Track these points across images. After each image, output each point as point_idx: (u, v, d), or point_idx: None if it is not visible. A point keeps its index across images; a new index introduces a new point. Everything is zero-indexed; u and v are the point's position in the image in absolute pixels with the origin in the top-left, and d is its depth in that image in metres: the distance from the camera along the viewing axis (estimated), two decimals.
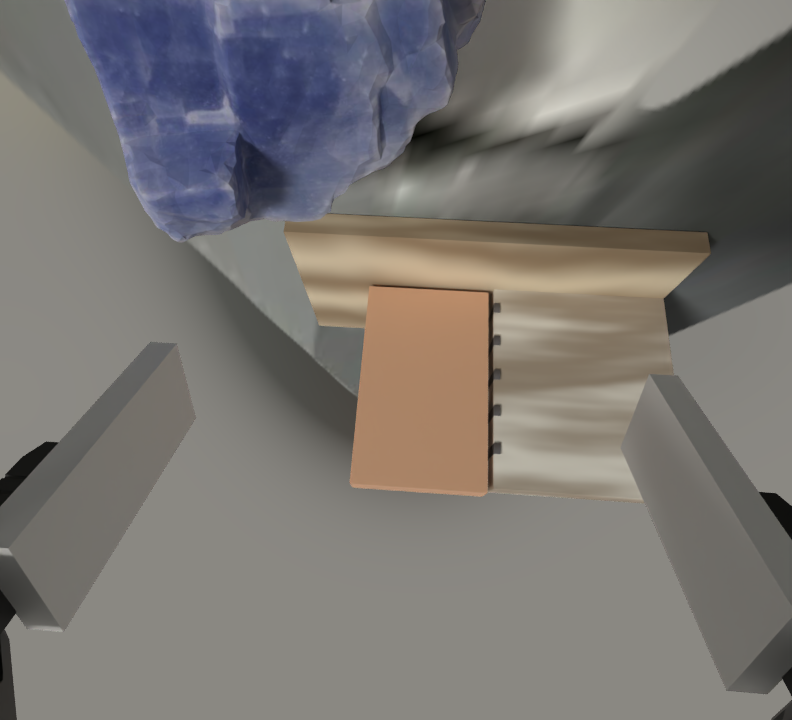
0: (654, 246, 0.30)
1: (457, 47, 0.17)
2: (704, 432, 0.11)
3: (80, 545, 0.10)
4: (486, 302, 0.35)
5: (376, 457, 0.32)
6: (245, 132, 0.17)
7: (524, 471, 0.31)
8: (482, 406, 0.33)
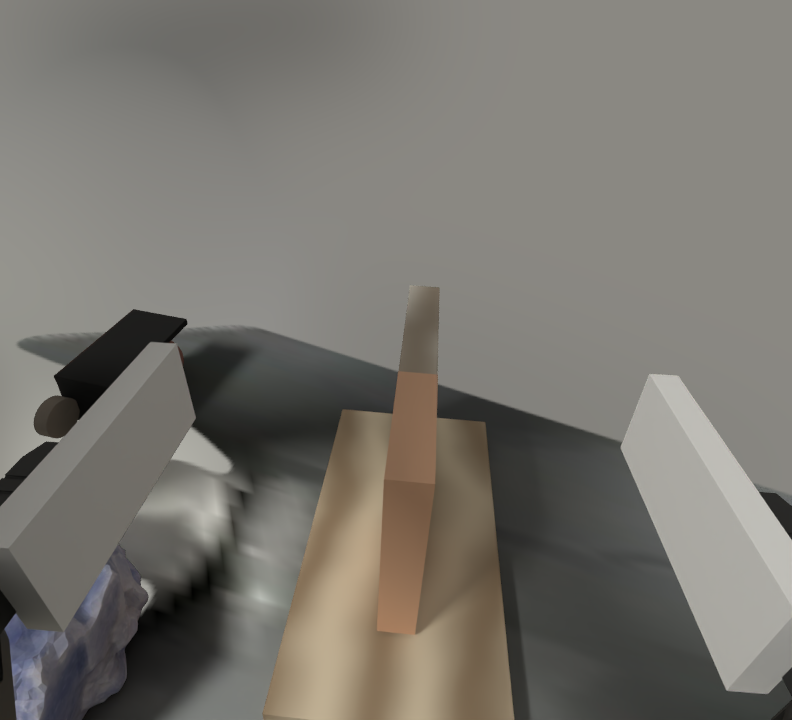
0: None
1: None
2: (704, 432, 0.11)
3: (80, 545, 0.10)
4: None
5: None
6: None
7: None
8: None
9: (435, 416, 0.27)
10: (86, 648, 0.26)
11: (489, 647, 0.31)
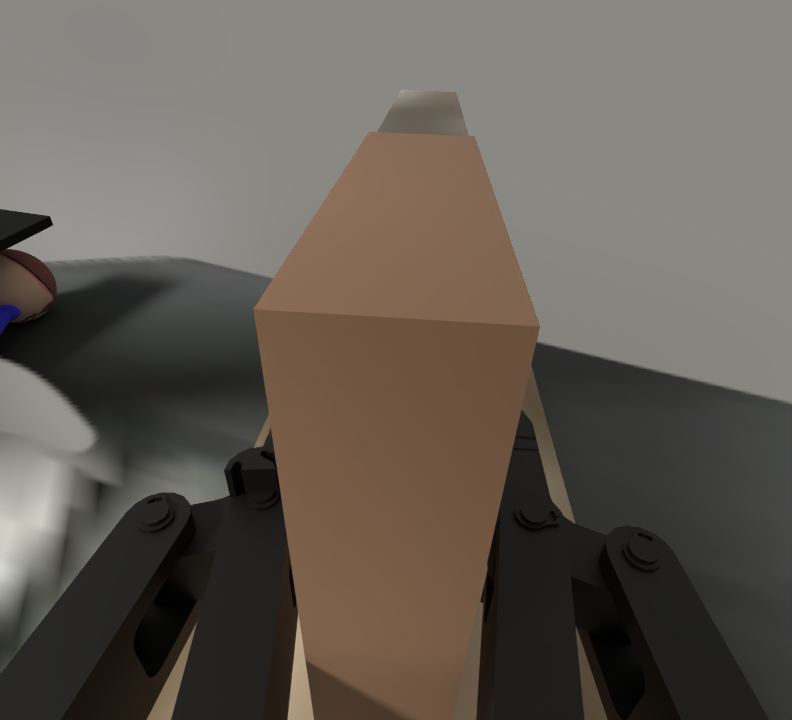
0: None
1: None
2: None
3: None
4: None
5: None
6: None
7: None
8: None
9: (484, 179, 0.08)
10: None
11: None
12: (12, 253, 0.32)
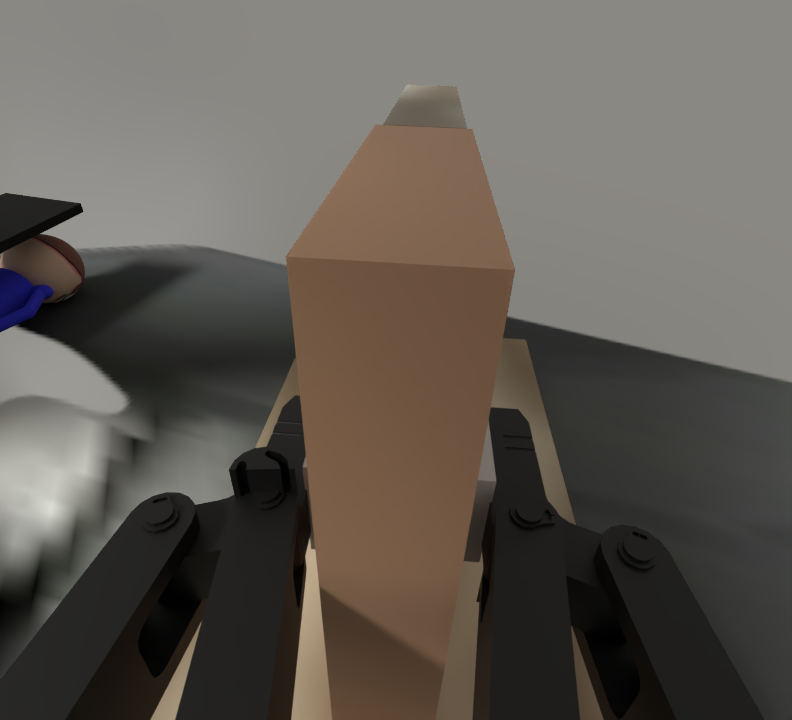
0: None
1: None
2: None
3: None
4: None
5: None
6: None
7: None
8: None
9: (478, 164, 0.09)
10: None
11: None
12: (45, 237, 0.35)
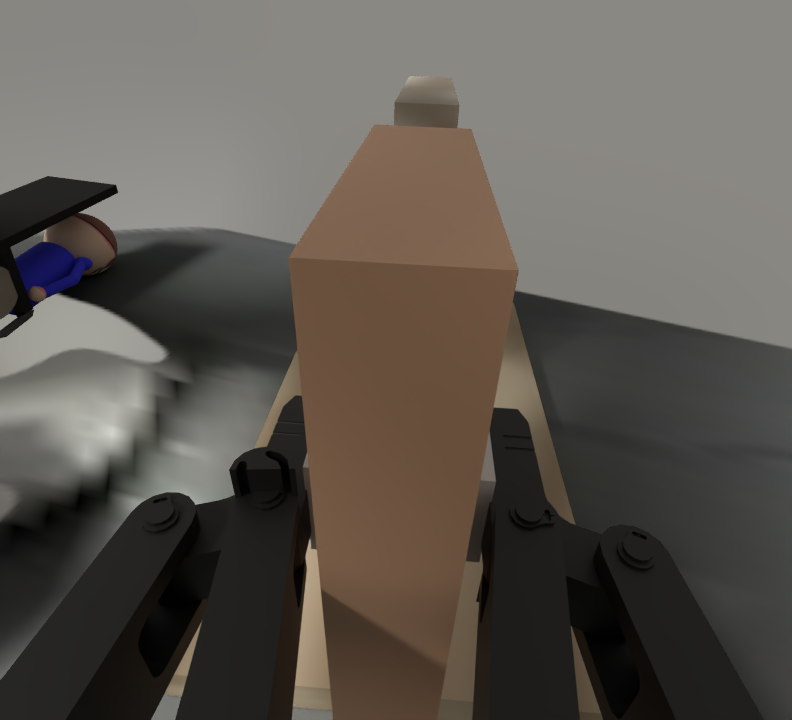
0: None
1: None
2: None
3: None
4: None
5: None
6: None
7: None
8: None
9: (479, 164, 0.09)
10: None
11: None
12: (84, 216, 0.39)
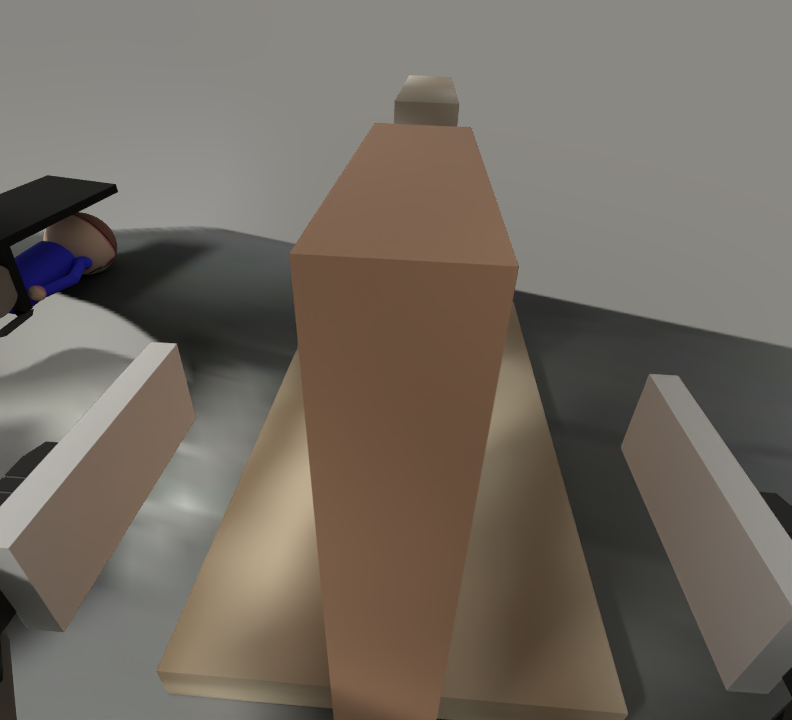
0: None
1: None
2: (704, 432, 0.11)
3: (80, 545, 0.10)
4: None
5: None
6: None
7: None
8: None
9: (479, 162, 0.09)
10: None
11: (556, 560, 0.18)
12: (83, 215, 0.39)
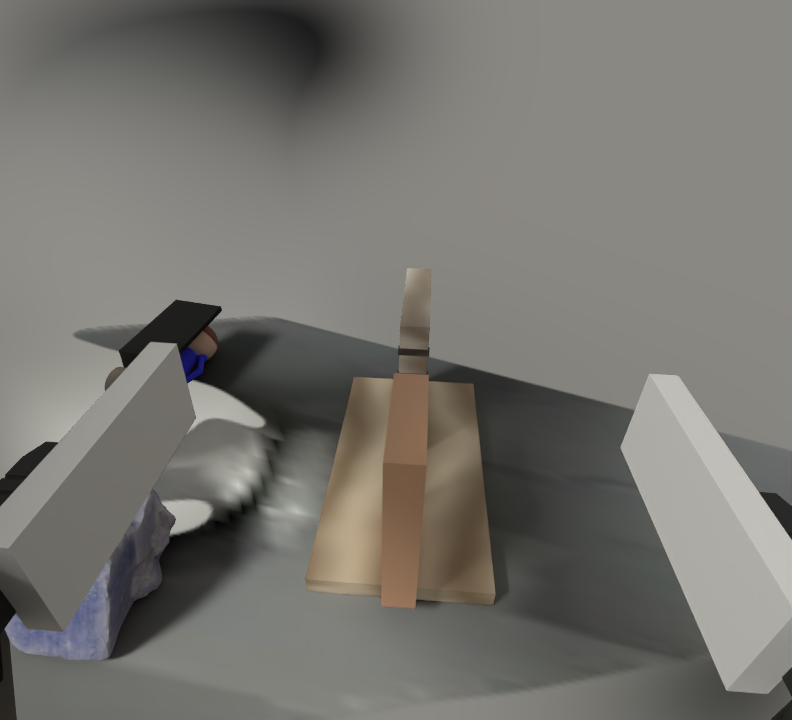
0: (350, 395, 0.56)
1: None
2: (704, 432, 0.11)
3: (80, 545, 0.10)
4: None
5: None
6: None
7: None
8: None
9: (426, 410, 0.31)
10: (135, 544, 0.34)
11: (475, 536, 0.40)
12: None
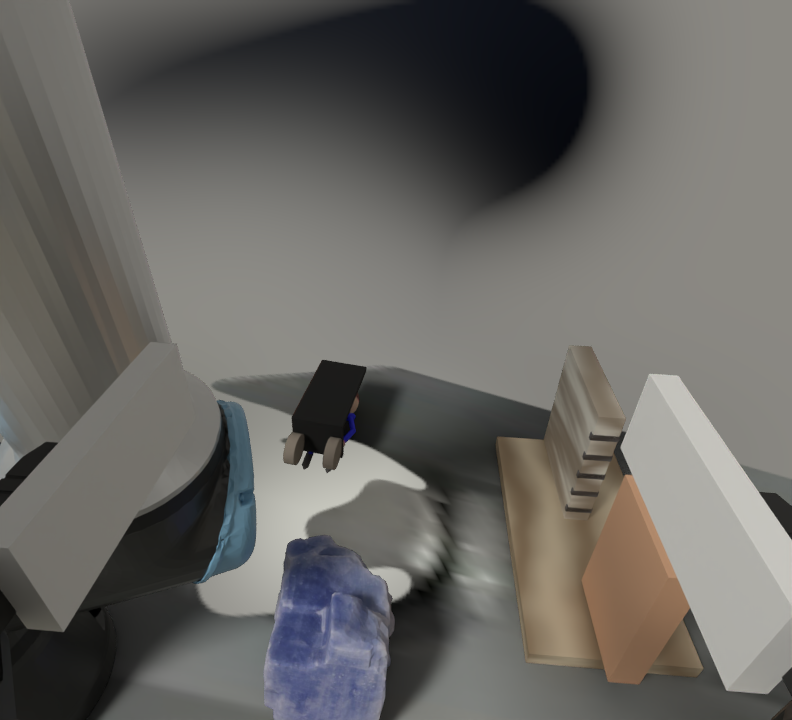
0: (499, 457, 0.59)
1: None
2: (704, 432, 0.11)
3: (80, 545, 0.10)
4: (583, 576, 0.45)
5: (651, 570, 0.33)
6: (330, 605, 0.38)
7: (590, 413, 0.46)
8: (607, 524, 0.41)
9: None
10: (388, 632, 0.37)
11: None
12: None
